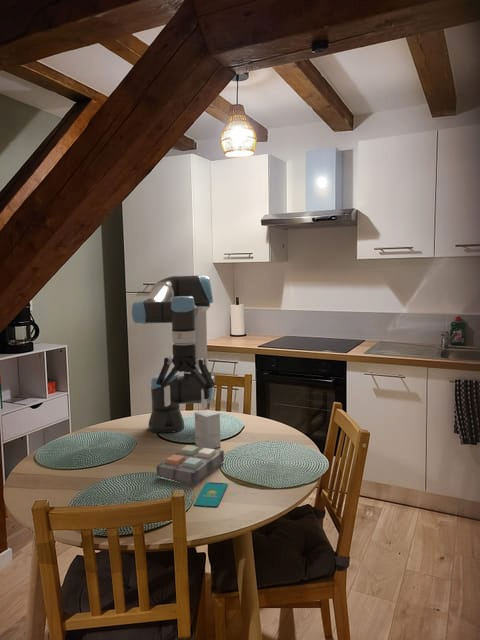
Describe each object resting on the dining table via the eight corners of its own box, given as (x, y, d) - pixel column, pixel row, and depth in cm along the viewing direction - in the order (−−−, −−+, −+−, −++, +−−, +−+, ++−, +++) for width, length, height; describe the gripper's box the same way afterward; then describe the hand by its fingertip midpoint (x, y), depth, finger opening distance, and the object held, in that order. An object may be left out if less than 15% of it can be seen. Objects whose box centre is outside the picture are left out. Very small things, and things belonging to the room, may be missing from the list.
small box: (221, 446, 183) (220, 413, 181) (207, 451, 179) (206, 416, 177) (208, 441, 189) (207, 408, 188) (195, 445, 185) (194, 412, 184)
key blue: (183, 471, 155) (183, 462, 154) (190, 466, 159) (190, 457, 158) (195, 473, 153) (194, 464, 152) (202, 468, 157) (201, 459, 156)
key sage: (181, 457, 166) (181, 449, 165) (188, 453, 170) (187, 445, 169) (192, 459, 164) (192, 451, 164) (198, 455, 168) (198, 446, 167)
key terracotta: (166, 467, 157) (165, 458, 157) (173, 462, 161) (173, 454, 161) (177, 469, 156) (177, 461, 155) (184, 464, 160) (184, 456, 159)
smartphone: (192, 504, 137) (205, 481, 152) (192, 507, 137) (205, 484, 152) (217, 506, 136) (228, 483, 150) (217, 509, 136) (228, 485, 150)
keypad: (156, 478, 155) (156, 466, 155) (189, 456, 173) (189, 445, 173) (194, 486, 150) (194, 473, 149) (223, 462, 167) (223, 450, 167)
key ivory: (197, 460, 163) (197, 452, 163) (204, 456, 167) (204, 447, 167) (209, 462, 161) (209, 454, 161) (215, 458, 165) (215, 449, 165)
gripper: (144, 343, 158) (147, 407, 160) (214, 346, 150) (216, 413, 152) (156, 340, 165) (158, 401, 167) (223, 343, 157) (224, 406, 159)
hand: (185, 407), depth 160 cm, fingers open, 13 cm apart
